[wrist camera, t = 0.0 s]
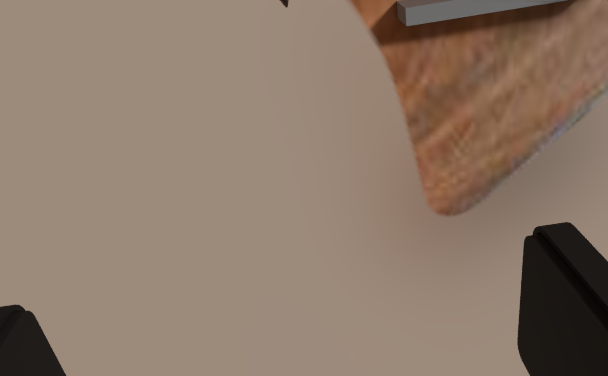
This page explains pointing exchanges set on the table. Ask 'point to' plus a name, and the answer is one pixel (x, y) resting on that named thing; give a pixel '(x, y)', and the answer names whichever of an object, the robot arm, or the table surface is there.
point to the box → (455, 9)
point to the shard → (285, 2)
